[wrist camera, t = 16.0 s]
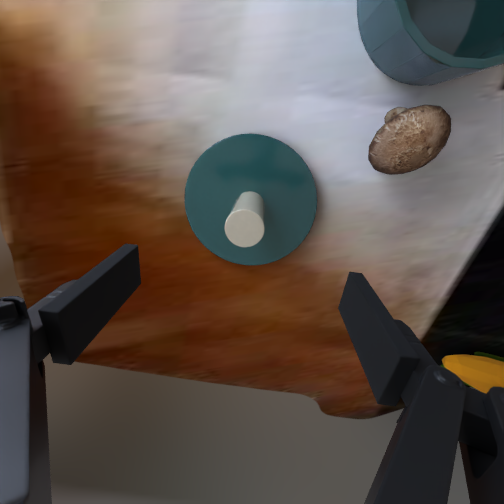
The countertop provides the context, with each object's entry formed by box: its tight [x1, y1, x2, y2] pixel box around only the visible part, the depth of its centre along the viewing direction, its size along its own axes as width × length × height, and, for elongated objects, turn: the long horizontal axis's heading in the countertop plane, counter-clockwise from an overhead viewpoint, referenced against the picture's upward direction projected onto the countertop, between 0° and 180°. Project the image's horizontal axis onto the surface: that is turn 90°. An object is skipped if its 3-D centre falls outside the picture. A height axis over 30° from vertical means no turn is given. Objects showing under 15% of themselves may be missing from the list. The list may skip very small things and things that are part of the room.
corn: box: [441, 352, 504, 394], centre depth 41 cm, size 7×8×20 cm
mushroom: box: [368, 105, 451, 174], centre depth 28 cm, size 8×8×6 cm
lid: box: [185, 134, 317, 265], centre depth 30 cm, size 17×17×10 cm
